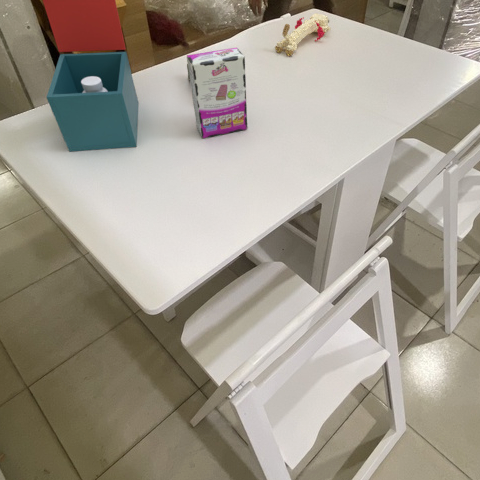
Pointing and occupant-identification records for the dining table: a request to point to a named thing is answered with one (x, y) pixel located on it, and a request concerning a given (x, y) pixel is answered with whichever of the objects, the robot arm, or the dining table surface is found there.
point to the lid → (85, 25)
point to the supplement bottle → (92, 85)
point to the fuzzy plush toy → (302, 32)
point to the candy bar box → (218, 91)
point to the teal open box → (95, 101)
